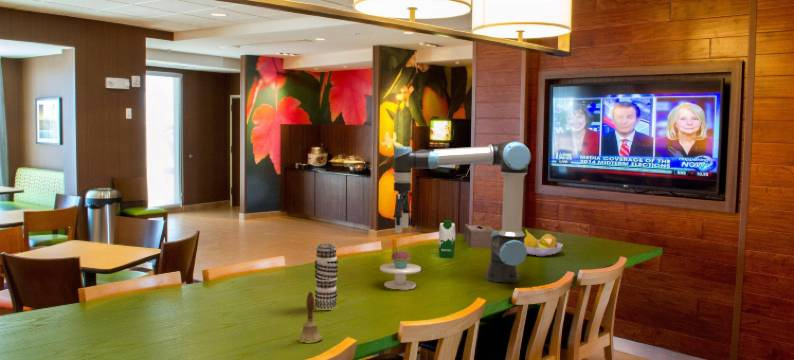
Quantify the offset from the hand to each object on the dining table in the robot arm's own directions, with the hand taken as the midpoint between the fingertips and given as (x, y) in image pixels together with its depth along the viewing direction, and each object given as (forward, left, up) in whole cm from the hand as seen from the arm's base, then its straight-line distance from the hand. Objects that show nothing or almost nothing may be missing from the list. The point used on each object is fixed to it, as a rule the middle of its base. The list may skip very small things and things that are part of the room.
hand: (401, 230), depth 291 cm
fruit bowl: (-58, -96, -25) cm, 115 cm away
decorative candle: (+20, +42, -25) cm, 53 cm away
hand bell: (+13, +78, -25) cm, 83 cm away
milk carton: (-10, -70, -25) cm, 75 cm away
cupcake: (0, 0, -17) cm, 17 cm away
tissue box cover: (-23, -115, -26) cm, 120 cm away
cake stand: (0, 0, -25) cm, 25 cm away
